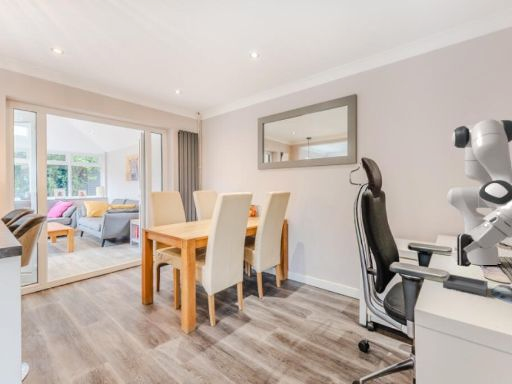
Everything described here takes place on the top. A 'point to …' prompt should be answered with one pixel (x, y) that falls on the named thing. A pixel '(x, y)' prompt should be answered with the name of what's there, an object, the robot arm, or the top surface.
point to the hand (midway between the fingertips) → (463, 248)
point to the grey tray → (466, 284)
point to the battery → (462, 242)
